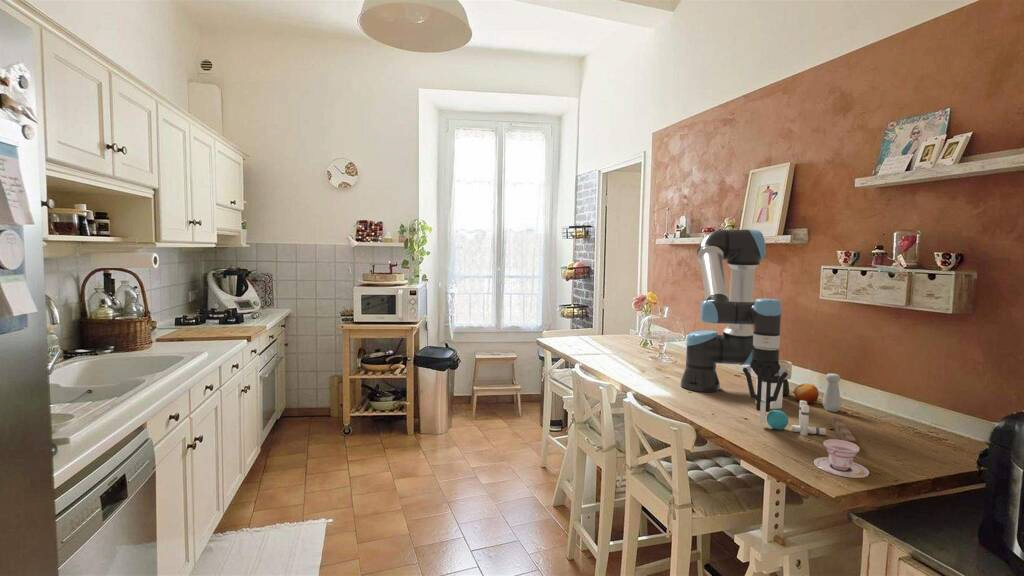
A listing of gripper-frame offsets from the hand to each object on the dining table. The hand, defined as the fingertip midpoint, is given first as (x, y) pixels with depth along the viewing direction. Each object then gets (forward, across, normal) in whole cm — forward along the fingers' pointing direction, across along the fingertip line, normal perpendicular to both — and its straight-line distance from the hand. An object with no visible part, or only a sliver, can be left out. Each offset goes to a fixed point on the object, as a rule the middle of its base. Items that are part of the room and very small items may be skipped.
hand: (762, 421), depth 160 cm
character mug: (+2, +5, +46) cm, 47 cm away
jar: (+2, +1, +27) cm, 27 cm away
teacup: (+2, +19, -24) cm, 31 cm away
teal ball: (-1, +4, 0) cm, 4 cm away
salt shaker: (+2, +21, +32) cm, 39 cm away
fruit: (+2, +13, +40) cm, 42 cm away
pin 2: (+2, +11, -1) cm, 12 cm away
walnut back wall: (+2, +22, +2) cm, 22 cm away
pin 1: (+2, +11, +4) cm, 12 cm away
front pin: (+1, +8, 0) cm, 8 cm away
